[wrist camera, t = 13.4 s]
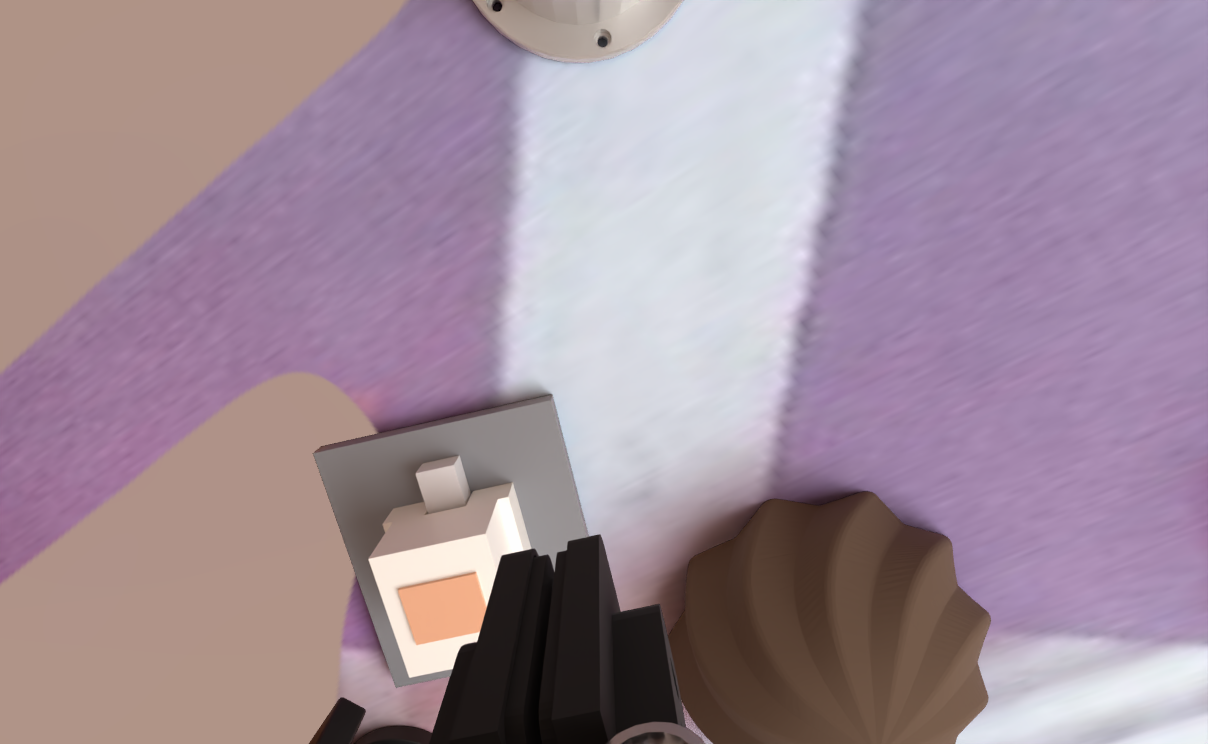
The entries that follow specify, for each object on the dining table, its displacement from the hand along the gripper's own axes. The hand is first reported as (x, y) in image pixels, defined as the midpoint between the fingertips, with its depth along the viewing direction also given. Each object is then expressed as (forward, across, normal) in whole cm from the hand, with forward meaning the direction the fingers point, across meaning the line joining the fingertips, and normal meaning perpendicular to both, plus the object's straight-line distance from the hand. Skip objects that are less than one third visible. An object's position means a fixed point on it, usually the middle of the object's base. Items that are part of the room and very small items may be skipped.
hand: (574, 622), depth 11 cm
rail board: (+27, +10, +11) cm, 31 cm away
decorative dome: (+28, -10, +22) cm, 37 cm away
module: (+26, +10, +11) cm, 30 cm away
